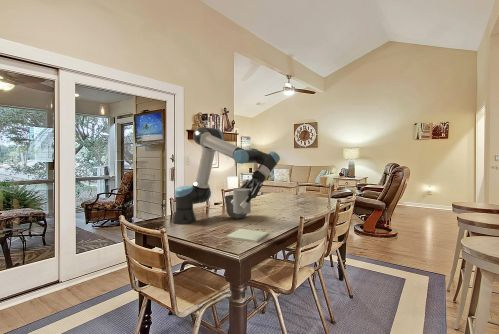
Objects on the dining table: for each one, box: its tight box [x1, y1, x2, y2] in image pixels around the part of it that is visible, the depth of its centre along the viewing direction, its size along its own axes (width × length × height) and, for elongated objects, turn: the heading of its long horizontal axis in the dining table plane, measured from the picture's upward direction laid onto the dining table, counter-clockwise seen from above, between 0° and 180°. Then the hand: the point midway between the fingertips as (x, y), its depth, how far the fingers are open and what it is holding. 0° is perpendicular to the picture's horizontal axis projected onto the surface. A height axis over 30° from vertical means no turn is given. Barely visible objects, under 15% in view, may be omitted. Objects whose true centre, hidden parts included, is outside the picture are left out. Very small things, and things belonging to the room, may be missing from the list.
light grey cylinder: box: [232, 187, 252, 214], centre depth 150 cm, size 10×10×12 cm
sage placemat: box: [225, 228, 269, 243], centre depth 152 cm, size 18×16×1 cm
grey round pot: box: [224, 194, 248, 219], centre depth 196 cm, size 18×18×15 cm
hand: (237, 205), depth 149 cm, fingers closed on light grey cylinder, 9 cm apart
